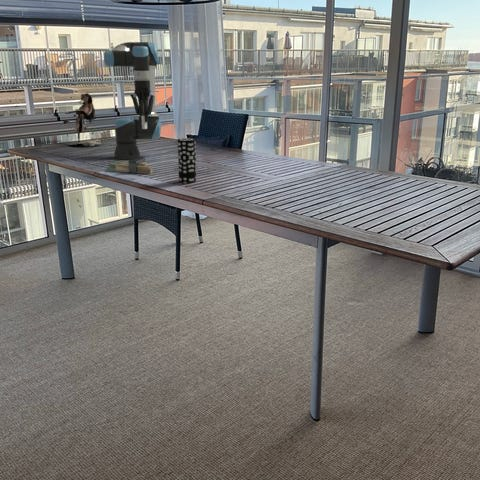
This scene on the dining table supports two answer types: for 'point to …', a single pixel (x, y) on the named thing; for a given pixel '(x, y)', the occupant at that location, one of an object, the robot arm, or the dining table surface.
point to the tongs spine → (125, 168)
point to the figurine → (85, 113)
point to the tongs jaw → (128, 163)
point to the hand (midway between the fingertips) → (144, 128)
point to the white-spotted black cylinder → (187, 160)
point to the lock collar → (133, 164)
